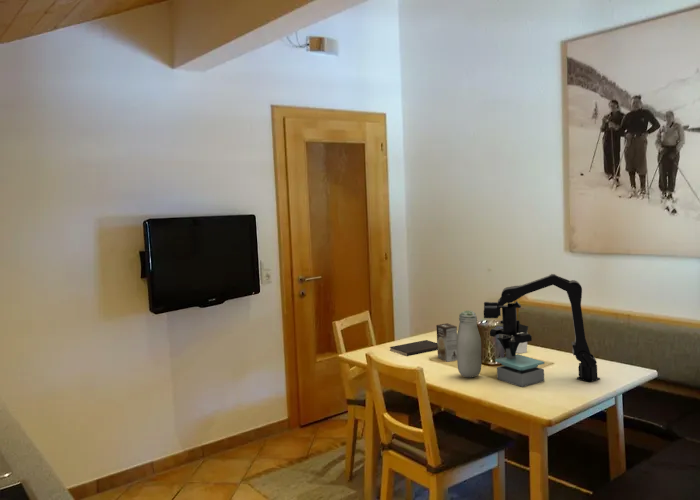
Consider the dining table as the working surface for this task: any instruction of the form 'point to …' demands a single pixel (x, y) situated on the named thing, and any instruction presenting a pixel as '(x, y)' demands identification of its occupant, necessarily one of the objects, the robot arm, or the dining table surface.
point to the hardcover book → (415, 348)
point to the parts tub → (520, 375)
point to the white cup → (521, 347)
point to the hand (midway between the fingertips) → (511, 355)
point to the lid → (518, 361)
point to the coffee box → (447, 342)
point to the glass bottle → (468, 345)
